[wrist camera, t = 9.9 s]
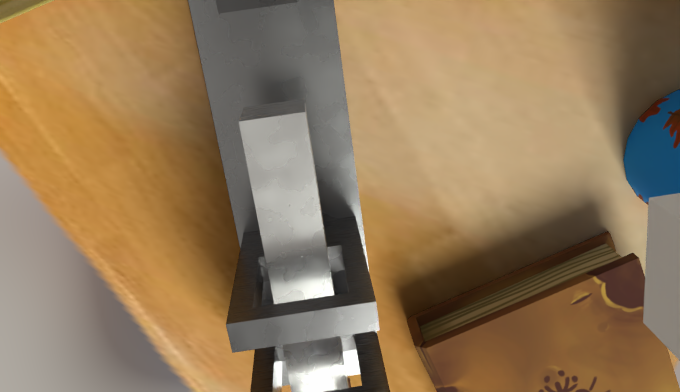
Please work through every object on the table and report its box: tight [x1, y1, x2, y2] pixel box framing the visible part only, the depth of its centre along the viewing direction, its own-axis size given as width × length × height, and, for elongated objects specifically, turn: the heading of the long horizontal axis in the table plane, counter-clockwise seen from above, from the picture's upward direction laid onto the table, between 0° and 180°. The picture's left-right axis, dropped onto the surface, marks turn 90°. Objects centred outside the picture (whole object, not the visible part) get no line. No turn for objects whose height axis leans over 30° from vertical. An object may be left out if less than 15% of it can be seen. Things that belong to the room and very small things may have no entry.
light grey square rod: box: [239, 98, 351, 392], centre depth 44 cm, size 26×4×4 cm, turn 8°
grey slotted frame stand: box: [188, 0, 390, 392], centre depth 43 cm, size 36×10×15 cm, turn 8°
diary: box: [407, 231, 680, 392], centre depth 56 cm, size 23×19×6 cm
